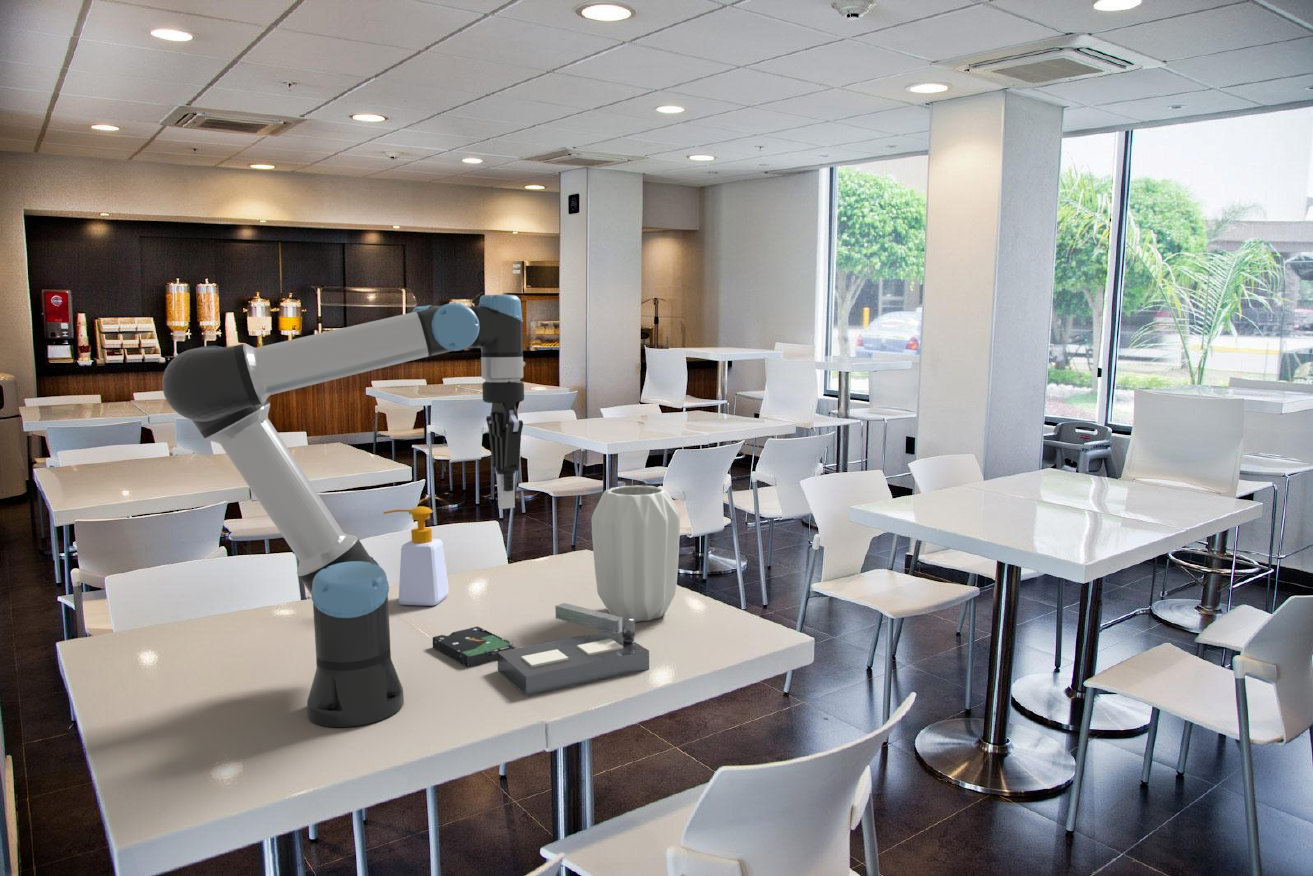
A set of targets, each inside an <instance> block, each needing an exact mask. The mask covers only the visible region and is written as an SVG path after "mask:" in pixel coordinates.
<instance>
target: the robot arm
mask: <svg viewBox="0 0 1313 876" xmlns="http://www.w3.org/2000/svg"><path fill="white" fill-rule="evenodd" d="M522 312H523V311H522V301H521V299H520V298H519V297H518V296H517V295H515V294H484V295H481V296H480V298H479V303H478V305H471V306H467V305H465V304H463V303H461V302H450V303H445V304H443V305H431V304H429V305H421V306H416V307H414V308H413V309H412V311H411V312H408V313H404V314H403V313H402V314H400V315H395V316H390V317H386V318H381V319H378V320H373V321H368V322H364V323H360V324H356V325H355V324H354V325H350V326H346V327H342V328H337V329H333V330H329V331H323V332H320V333H315V334H311V335H306V336H301V337H298V338H294V339H293V338H292V339H289V340H284V341H280V342H276V343H272V344H266V345H262V346H258V347H257V346H256V347H254V346H251V345H250V344H247V343H246V342H245V343H241V344H236V345H231V346H224V347H223V346H218V345H206V346H200V347H196V348H190V349H187V350H185V351H183V352H180V353H179V354H177V355H175V357H174V358H173V359H171V361H170V362H169V363H168V364H167V367H165V369H164V372H163V376H162V381H161V383H162V384H161V385H162V392H163V396H164V398H165V400H166V402H167V403H168V405H169V406H170V408H172V410H174V412H176V413H177V414H179V416H181V417H184V418H185V419H187V420H191V421H192V422H193V424H194V426H195V427H196V428H197V431H199V432H200V434H201V436H202V437H203V438H204V440H205V441H207V442H208V441H210V442H213V443H216V444H219V445H220V446H221V447H222V449H223V450H224V451H225V454H226V455H227V456H228V457H229V460H230V461H231V462H232V464H233V465H234V466H235V468H236V470H237V471H238V473H239V474H240V475H241V477H242V479H243V480H244V482H245V483H246V484H247V486H248V487H249V488H250V490H251V492H252V493H253V495H254V496H255V498H256V499H257V500H258V502H259V503H260V505H261V506H262V508H263V509H264V511H265V512H266V514H267V515H268V517H269V518H270V520H271V521H272V522H273V524H274V525H275V527H276V529H277V530H278V531H279V533H280V534H281V536H282V538H283V539H284V540H285V541H286V543H287V545H288V546H289V548H290V550H292V552H293V553H294V555H295V556H296V558H297V559H298V562H299V563H298V567H297V571H296V575H298V578H299V579H300V581H301V582H302V583H303V585H304V586H305V588H306V590H307V591H308V593H309V594H310V595H311V601H312V607H313V621H314V622H313V623H314V625H313V627H314V643H315V646H314V647H315V658H316V669H315V673H314V676H313V680H312V684H311V688H310V689H309V690H310V691H309V694H308V697H307V701H306V702H307V703H306V706H307V707H306V708H307V717H308V719H309V720H310V721H311V722H312V723H314V724H317V725H319V726H324V727H330V728H331V727H332V728H333V727H334V728H348V727H349V728H350V727H357V726H358V727H359V726H363V725H369V724H373V723H376V722H379V721H382V720H385V719H387V718H389V717H391V716H393V715H395V714H397V713H398V712H400V710H401V709H402V708H403V706H404V704H405V698H404V697H405V696H404V687H403V685H402V683H401V680H400V678H399V675H398V673H397V670H396V668H395V665H394V663H393V661H392V654H391V653H392V651H391V634H390V633H391V631H390V630H391V629H390V611H389V608H390V607H389V591H390V585H389V581H388V577H387V574H386V572H385V570H384V569H383V567H381V566H380V564H379V563H378V561H377V560H375V559H374V557H372V556H370V554H369V553H368V551H367V550H366V549H365V547H364V545H363V544H362V542H361V540H360V539H359V538H358V537H357V536H356V535H354V534H347V533H344V531H343V530H342V528H341V527H340V525H339V523H338V522H337V521H336V519H335V518H334V516H333V514H332V512H330V510H329V509H328V508H327V506H326V504H325V502H324V501H323V499H322V498H321V496H320V495H319V493H318V492H317V490H316V489H315V487H314V486H313V484H312V483H311V481H310V479H309V478H308V476H307V474H306V473H305V472H304V471H303V469H302V468H301V466H300V464H299V463H298V462H297V460H296V458H295V457H294V456H293V454H292V453H291V450H290V449H289V447H287V445H286V443H285V441H284V439H282V438H281V436H280V433H278V431H277V430H276V428H275V427H274V425H273V424H272V422H271V420H270V419H269V411H270V408H271V403H270V402H269V400H268V398H269V397H270V396H271V395H276V394H281V393H284V392H287V391H292V390H297V389H301V388H305V387H308V386H312V385H316V384H322V383H325V382H330V381H332V380H334V381H335V380H337V379H341V378H345V377H349V376H353V375H358V374H362V373H366V372H371V371H373V370H375V371H376V370H377V369H383V368H387V367H391V366H395V365H398V364H403V363H406V362H410V361H415V360H419V359H422V358H428V357H433V356H437V355H440V354H445V353H449V352H459V351H462V350H465V349H480V351H481V357H480V363H481V364H480V365H481V369H480V370H481V379H482V380H484V381H483V383H482V384H481V387H482V388H481V389H482V401H483V402H484V403H489V404H491V412H490V415H486V424H487V428H488V437H489V444H490V454H491V457H490V458H491V463H492V464H491V465H492V468H495V472H496V474H497V476H496V477H497V479H496V481H497V506H498V507H497V508H498V509H500V510H505V509H506V510H507V509H513V508H516V505H515V504H516V502H515V499H516V498H515V497H516V496H515V495H516V494H515V473H516V472H519V470H520V460H521V459H520V458H521V444H522V443H521V441H522V432H523V426H524V422H523V420H521V419H520V420H519V416H518V415H519V414H518V411H517V410H518V409H517V406H516V404H517V403H522V402H523V401H525V384H524V383H523V381H521V379H523V378H524V367H525V366H526V362H525V361H524V353H523V352H524V351H523V350H524V347H523V346H524V344H523V343H524V342H523V339H524V336H523V335H524V334H523V333H524V332H523V331H524V330H523V322H524V319H523V313H522Z"/></svg>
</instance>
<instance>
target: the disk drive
mask: <svg viewBox="0 0 1313 876" xmlns="http://www.w3.org/2000/svg"><path fill="white" fill-rule="evenodd" d="M432 648H433V649H434V650H435V651H438V652H440V653H442V654H444V655H445V656H447V657H448V658H449V659H450V658H451V659H452V660H454V661H456V662H457V663H459V664H460V665H462V666H464V667H466V668H468V669H470V668H473V667H477V666H481V665H485V664H488V663H489V664H490V663H491V662H495V661H498V659H497V652H500V651H505V650H510V649H515V648H516V647H515V646H514V645H513V643H511V642H510V641H509V640H506V639H504V638H502V637H501V636H498V635H496V634H494V633H492V632H490V631H488V630H487V629H484V628H482V627H480V626H474V627H469V628H466V629H462V630H457V631H453V632H451V633H450V634H449V635H445V634H440V635H436V636H432Z"/></svg>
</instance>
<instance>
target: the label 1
mask: <svg viewBox="0 0 1313 876" xmlns="http://www.w3.org/2000/svg"><path fill="white" fill-rule="evenodd" d="M521 659H522V660H524V661H525V662H526V663H527V664H528V665H530V666H531V667H536V666H541V665H545V664H550V663H555V662H560V661H565V660H569V658H568V657H567V656H566V655H564V654H563V653H562V652H560V651H559V650H557V649H556V650H551V651H546V652H541V653H536V654H531V655H526V656H521Z"/></svg>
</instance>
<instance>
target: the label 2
mask: <svg viewBox="0 0 1313 876" xmlns="http://www.w3.org/2000/svg"><path fill="white" fill-rule="evenodd" d="M577 648H579V649H580V650H582V651H583V652H584V653H586V654H587V655H594V654H599V653H604V652H609V651H613V650H618V649H623V646H622V645H620V644H619V643H617V642H615V641H614V640H612V639H606V640H601V641H596V642H591V643H586V644H581V645H577Z"/></svg>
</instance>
